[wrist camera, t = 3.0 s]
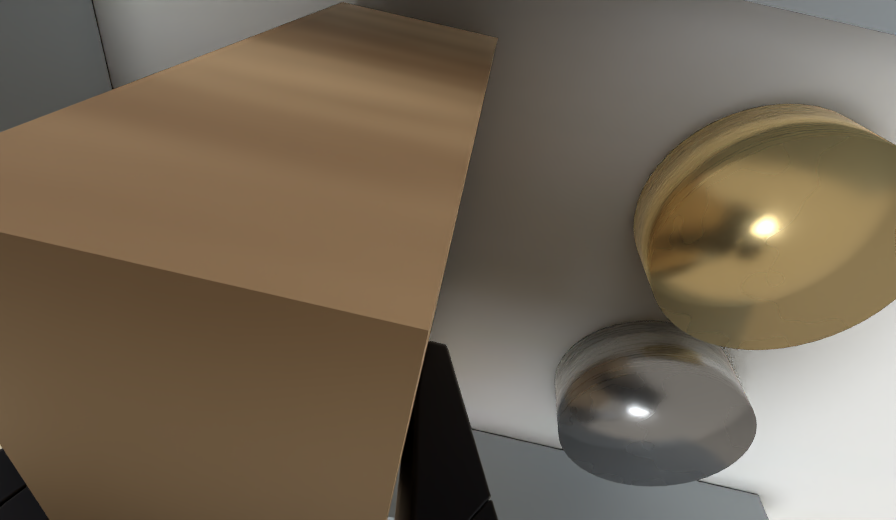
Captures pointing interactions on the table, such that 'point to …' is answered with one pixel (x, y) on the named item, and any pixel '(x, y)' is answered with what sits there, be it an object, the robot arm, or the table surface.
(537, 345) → the table surface
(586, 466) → the gunmetal token
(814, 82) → the table surface
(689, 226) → the brass token
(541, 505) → the cubby
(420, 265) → the wooden plank block
